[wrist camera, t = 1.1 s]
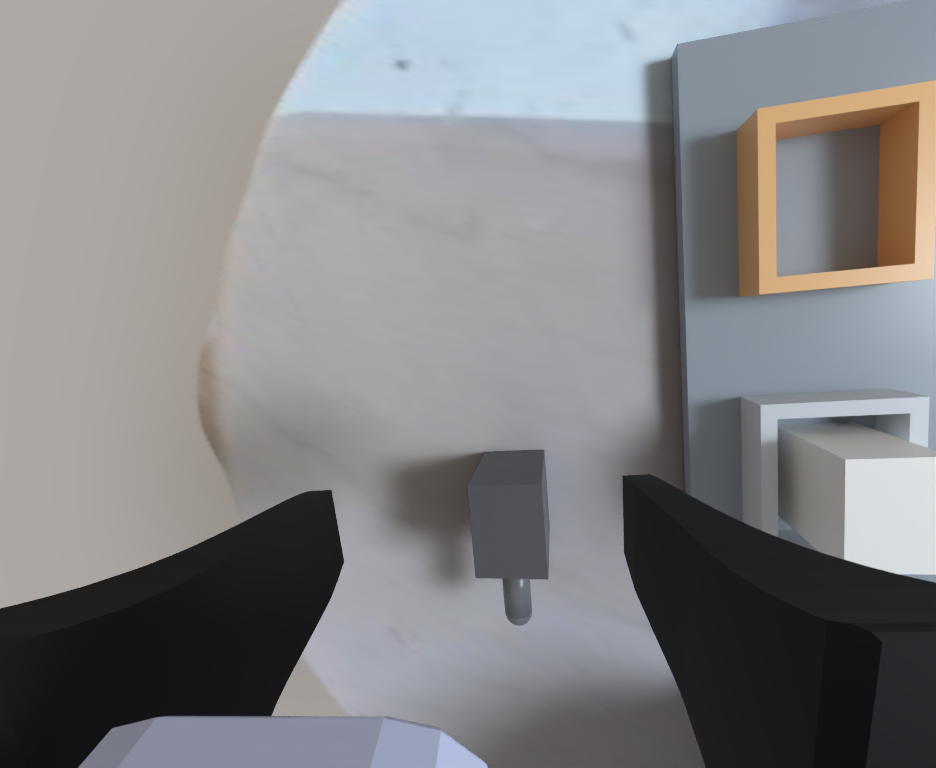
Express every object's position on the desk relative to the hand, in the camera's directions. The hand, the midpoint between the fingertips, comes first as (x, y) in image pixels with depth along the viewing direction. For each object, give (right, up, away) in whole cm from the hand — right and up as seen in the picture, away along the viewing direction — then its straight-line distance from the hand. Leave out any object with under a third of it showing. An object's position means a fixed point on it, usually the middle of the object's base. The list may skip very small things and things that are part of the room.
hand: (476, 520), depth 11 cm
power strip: (+14, +6, +9) cm, 18 cm away
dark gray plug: (+2, -3, +13) cm, 13 cm away
